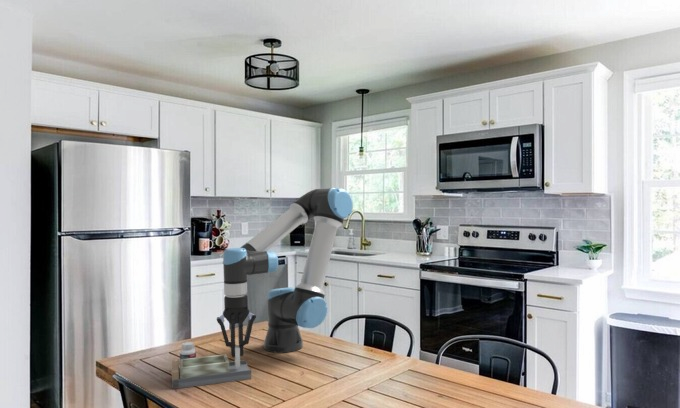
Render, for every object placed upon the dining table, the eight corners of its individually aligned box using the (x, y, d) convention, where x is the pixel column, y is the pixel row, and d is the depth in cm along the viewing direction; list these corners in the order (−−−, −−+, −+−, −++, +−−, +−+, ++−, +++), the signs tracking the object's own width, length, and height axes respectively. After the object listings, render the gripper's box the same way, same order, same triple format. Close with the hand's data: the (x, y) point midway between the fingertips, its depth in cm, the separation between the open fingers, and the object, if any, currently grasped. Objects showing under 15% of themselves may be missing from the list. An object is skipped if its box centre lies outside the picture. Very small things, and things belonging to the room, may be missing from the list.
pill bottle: (191, 372, 157) (190, 346, 157) (176, 371, 158) (176, 345, 158) (198, 367, 162) (198, 341, 162) (185, 366, 164) (184, 340, 164)
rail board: (246, 367, 161) (246, 353, 161) (251, 378, 151) (250, 363, 151) (172, 376, 154) (172, 361, 154) (171, 389, 143) (171, 372, 143)
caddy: (226, 366, 158) (226, 354, 158) (229, 375, 150) (229, 362, 150) (179, 371, 153) (179, 359, 153) (179, 381, 145) (179, 368, 145)
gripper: (254, 291, 161) (255, 360, 161) (214, 294, 157) (216, 365, 157) (257, 295, 154) (258, 367, 154) (216, 299, 149) (218, 372, 150)
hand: (237, 366), depth 155 cm, fingers closed
